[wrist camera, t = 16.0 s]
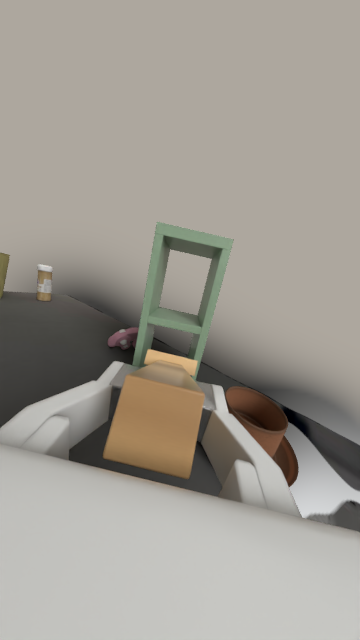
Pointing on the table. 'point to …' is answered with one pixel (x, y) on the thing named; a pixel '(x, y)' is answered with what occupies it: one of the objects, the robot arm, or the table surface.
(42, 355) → the table surface
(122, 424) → the desk brush
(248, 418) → the cup and saucer
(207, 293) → the sage stand
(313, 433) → the table surface
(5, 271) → the potted cactus
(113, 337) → the video game controller
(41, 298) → the sprinkles bottle
